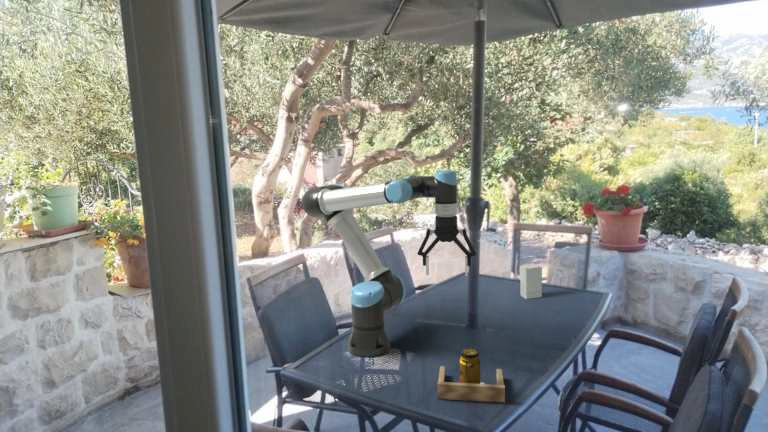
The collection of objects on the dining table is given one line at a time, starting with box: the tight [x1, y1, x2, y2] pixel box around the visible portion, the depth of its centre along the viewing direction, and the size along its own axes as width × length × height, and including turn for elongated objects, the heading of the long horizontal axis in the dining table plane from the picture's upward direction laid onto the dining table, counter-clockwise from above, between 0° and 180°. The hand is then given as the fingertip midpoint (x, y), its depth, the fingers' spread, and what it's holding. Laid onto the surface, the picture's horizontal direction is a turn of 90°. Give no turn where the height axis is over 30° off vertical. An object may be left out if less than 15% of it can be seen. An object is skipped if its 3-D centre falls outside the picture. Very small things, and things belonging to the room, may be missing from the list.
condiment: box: [459, 348, 485, 384], centre depth 147 cm, size 7×8×12 cm
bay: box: [436, 365, 506, 403], centre depth 149 cm, size 19×14×4 cm
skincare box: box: [519, 263, 543, 300], centre depth 229 cm, size 8×6×15 cm
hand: (446, 274), depth 174 cm, fingers open, 13 cm apart
